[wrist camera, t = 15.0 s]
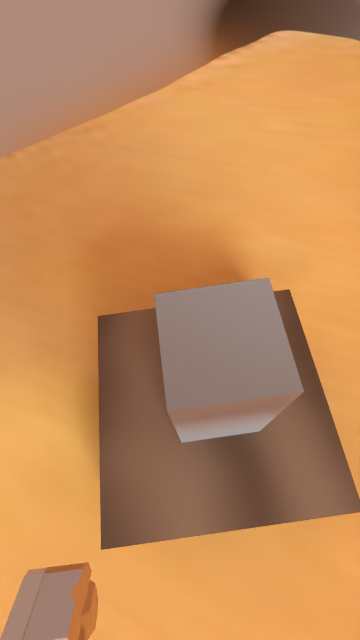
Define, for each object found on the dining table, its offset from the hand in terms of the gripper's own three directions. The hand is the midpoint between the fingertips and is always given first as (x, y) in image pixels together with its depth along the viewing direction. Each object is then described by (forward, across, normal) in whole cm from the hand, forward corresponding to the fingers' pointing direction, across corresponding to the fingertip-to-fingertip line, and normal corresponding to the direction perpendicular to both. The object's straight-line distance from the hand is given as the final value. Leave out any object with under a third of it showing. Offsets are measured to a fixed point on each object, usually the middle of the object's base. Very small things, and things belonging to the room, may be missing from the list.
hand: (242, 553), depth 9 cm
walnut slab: (+12, 0, +4) cm, 13 cm away
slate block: (+9, -1, +1) cm, 9 cm away
